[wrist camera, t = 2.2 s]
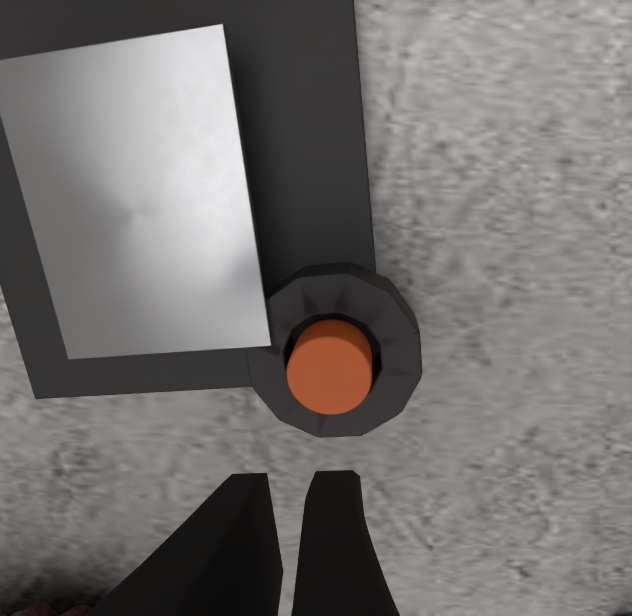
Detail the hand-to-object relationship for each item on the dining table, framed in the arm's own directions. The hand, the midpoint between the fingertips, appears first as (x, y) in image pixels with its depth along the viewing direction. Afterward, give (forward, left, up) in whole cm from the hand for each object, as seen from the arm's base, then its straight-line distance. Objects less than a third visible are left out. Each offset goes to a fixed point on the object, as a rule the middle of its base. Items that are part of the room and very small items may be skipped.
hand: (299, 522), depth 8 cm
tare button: (0, 0, -7) cm, 7 cm away
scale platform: (+5, -5, -7) cm, 10 cm away
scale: (+5, -5, -9) cm, 12 cm away
